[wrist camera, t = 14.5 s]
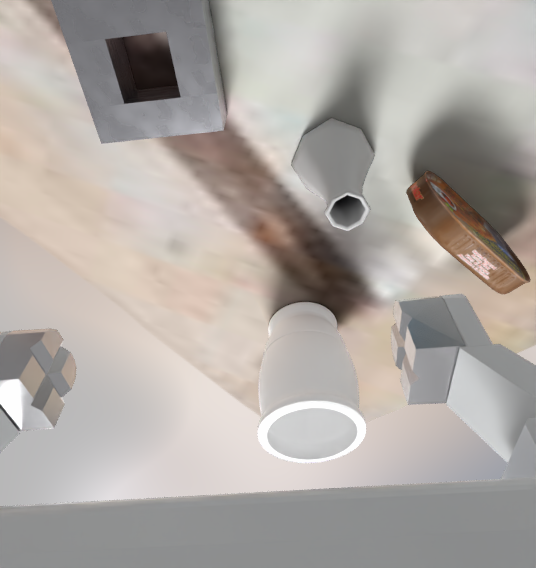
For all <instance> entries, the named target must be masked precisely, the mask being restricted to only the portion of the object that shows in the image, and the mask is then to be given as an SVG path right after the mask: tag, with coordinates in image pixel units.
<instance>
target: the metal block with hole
mask: <svg viewBox="0 0 536 568" xmlns="http://www.w3.org/2000/svg"><path fill="white" fill-rule="evenodd" d="M51 1H52V4H53V6H54V9H55V12H56V15H57V18H58V21H59V24H60V26H61V29H62V32H63V35H64V38H65V41H66V44H67V46H68V49H69V52H70V55H71V58H72V61H73V64H74V66H75V69H76V72H77V75H78V78H79V81H80V84H81V87H82V89H83V92H84V95H85V98H86V101H87V104H88V107H89V109H90V112H91V115H92V118H93V121H94V124H95V127H96V129H97V132H98V135H99V138H100V141H101V144H103V143H112V142H121V141H130V140H140V139H149V138H158V137H167V136H177V135H186V134H195V133H204V132H213V131H223V130H224V126H225V122H226V118H227V110H226V104H225V98H224V92H223V86H222V79H221V73H220V67H219V61H218V55H217V48H216V42H215V36H214V30H213V24H212V17H211V11H210V5H209V0H51ZM159 32H166V33H167V37H168V42H169V46H170V51H171V56H172V60H173V65H174V69H175V74H176V78H177V83H178V85H175V86H166V87H158V88H149V89H141V90H137V89H136V85H135V82H134V78H133V74H132V71H131V67H130V64H129V60H128V56H127V53H126V49H125V46H124V42H123V38H122V37H127V36H135V35H143V34H151V33H159Z"/></svg>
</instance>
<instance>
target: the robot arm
mask: <svg viewBox="0 0 536 568" xmlns="http://www.w3.org/2000/svg"><path fill="white" fill-rule="evenodd" d="M393 315H394V318H395V321H396V323H395V324H394V325H393V326H392V329H391V345H392V353H393V357H394V361H395V364H396V366H397V367H398V368H399V369H401V370H402V372H401V384H402V387H403V391H404V394H405V397H406V400H407V403H408V405H411V404H434V403H435V404H436V403H446V405H447V406H448V407H449V408H450V409H451V410H452V411H453V412H454V413H455V414H456V415H457V416H459V417H460V418H461V419H462V420H463V421H464V422H465V423H466V424H467V425H468V426H469V427H470V428H471V429H472V430H473V431H474V432H475V433H477V435H479V436H480V437H481V438H482V439H483V440H484V441H485V442H486V443H487V444H488V445H489V446H490V447H491V448H492V449H493V450H495V452H497V453H498V454H499V455H500V456H501V457H502V458H503V459H504V460H505V461H506V462H507V463H508V464H507V466H506V468H505V470H504V473H503V475H502V477H501V479H494V480H476V481H457V482H439V483H421V484H402V485H384V486H366V487H348V488H329V489H311V490H293V491H276V492H256V493H239V494H220V495H201V496H185V497H184V496H183V497H164V498H146V499H128V500H109V501H91V502H72V503H54V504H35V505H19V506H0V568H536V365H534V364H532V363H531V362H529V361H527V360H526V359H524V358H523V357H521V356H519V355H517V354H516V353H514V352H513V351H511V350H509V349H508V348H506V347H504V346H503V345H501V344H494V345H493V343H492V341H491V340H490V338H489V336H488V334H487V333H486V331H485V329H484V327H483V326H482V324H481V322H480V320H479V319H478V317H477V315H476V313H475V312H474V310H473V308H472V306H471V305H470V303H469V301H468V299H467V298H466V296H465V295H463V294H455V295H445V296H439V297H427V298H416V299H404V300H395V303H394V307H393ZM62 342H63V338H62V337H61V335H60V334H59V332H58V330H55V329H36V330H18V331H9V332H0V453H1V452H2V451H3V450H4V449H5V448H6V447H7V446H8V445H9V444H10V442H12V441H13V440H14V439H15V438H16V437H17V436H18V435H19V434H20V432H19V431H28V430H38V429H49V428H54V427H55V425H56V423H57V420H58V418H59V416H60V414H61V411H62V409H63V407H64V402H63V399H62V397H63V396H64V395H65V394H66V393H67V392H69V391H70V390H71V389H72V386H73V384H74V381H75V377H76V364H75V360H74V358H73V356H72V354H71V353H70V352H69V351H68V350H66V349H64V348H63V347H61V345H62Z"/></svg>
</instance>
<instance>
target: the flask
mask: <svg viewBox="0 0 536 568" xmlns="http://www.w3.org/2000/svg"><path fill="white" fill-rule="evenodd" d="M374 156H375V155H374V153H373V151H372V149H371V147H370V145H369V143H368V141H367V139H366V137H365V136H364V134H363V132H362V130H361V129H360V128H357V127H354V126H352V125H349V124H346V123H344V122H341V121H338V120H336V119H333V118H330V119H329V120H327V121H326V122H324V123H323V124H321V125H319V126H318V127H316V128H315V129H313V130H312V131H310V132H308V133H307V134H305V135H304V136H303V137H302V139H301V142H300V144H299V147H298V149H297V152H296V154H295V157H294V159H293V161H292V164H291V166H292V167H293V169H294V170H295V172H296V173H297V175H298V176H299V178H300V179H301V181H302V182H303V184H304V185H305V187H306V188H307V189H308V190H309V191H311V192H312V193H314V194H316V195H317V196H319V197H320V198H321V199H323V200H324V201H325V202H326V203H327V208H326V210H325V215H326V217H327V218H328V220H329V221H330V223H331V224H332V226H333V227H336V228H339V229H343V230H346V231H349V230H351V229H353V228H355V227H357V226H359V225H361V224H362V223H363V222H364V220H365V219H366V217H367V215H368V213H369V211H370V210H371V209H370V207H369V205H368V203H367V201H366V200H365V198H364V196H363V195H362V186H363V184H364V181H365V178H366V175H367V173H368V170H369V168H370V166H371V164H372V161H373V159H374Z"/></svg>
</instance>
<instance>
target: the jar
mask: <svg viewBox="0 0 536 568" xmlns="http://www.w3.org/2000/svg"><path fill="white" fill-rule="evenodd" d="M268 333H269V338H268V340H267V343H266V346H265V350H264V355H263V361H262V364H261V368H260V374H259V385H258V392H259V404H260V410H261V415H262V417H261V419H260V421H259V425H258V440H259V442H260V444H261V446H262V447H263V448H264V449H265V450H266V451H267V452H268V453H270V454H271V455H273V456H275V457H277V458H280V459H283V460H287V461H291V462H299V463H316V462H324V461H328V460H332V459H336V458H339V457H341V456H343V455H345V454H347V453H349V452H351V451H352V450H354V449H355V448H356V447H357V446H358V445H359V444H360V443H361V442H362V440H363V439H364V437H365V434H366V422H365V418H364V415H363V413H362V412H361V410H360V409H359V388H358V380H357V375H356V371H355V368H354V365H353V362H352V359H351V357H350V355H349V353H348V351H347V348H346V345H345V343H344V340H343V338H342V337H341V335H340V333H339V332H338V331H337V321H336V318H335V316H334V315H333V313H332V312H331V311H330V310H329V309H327V308H326V307H324V306H322V305H320V304H316V303H312V302H299V303H294V304H290V305H288V306H285V307H283V308H282V309H280V310H279V311H277V312H276V313H275V314H274V316H273V317H272V318H271V320H270V322H269V326H268Z"/></svg>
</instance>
